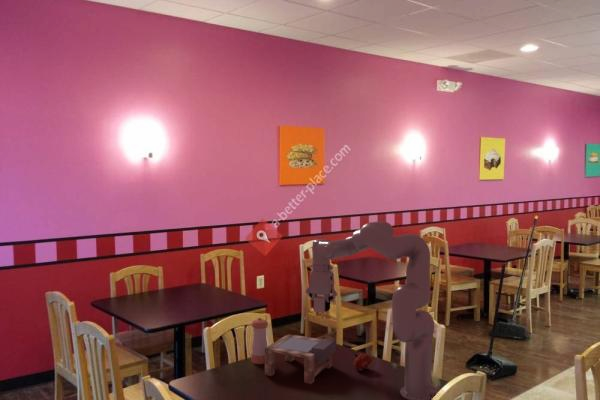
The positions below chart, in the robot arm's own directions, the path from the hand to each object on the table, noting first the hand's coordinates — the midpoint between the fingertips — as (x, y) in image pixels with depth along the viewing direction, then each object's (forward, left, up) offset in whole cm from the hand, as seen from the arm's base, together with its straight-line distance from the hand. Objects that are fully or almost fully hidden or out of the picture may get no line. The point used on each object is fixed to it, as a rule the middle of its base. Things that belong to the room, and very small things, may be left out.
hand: (321, 309), depth 230 cm
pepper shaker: (+24, +11, -23) cm, 35 cm away
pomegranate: (-20, +1, -23) cm, 31 cm away
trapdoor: (+1, +13, -15) cm, 20 cm away
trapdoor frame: (+4, +13, -23) cm, 27 cm away
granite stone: (0, 0, -1) cm, 1 cm away
